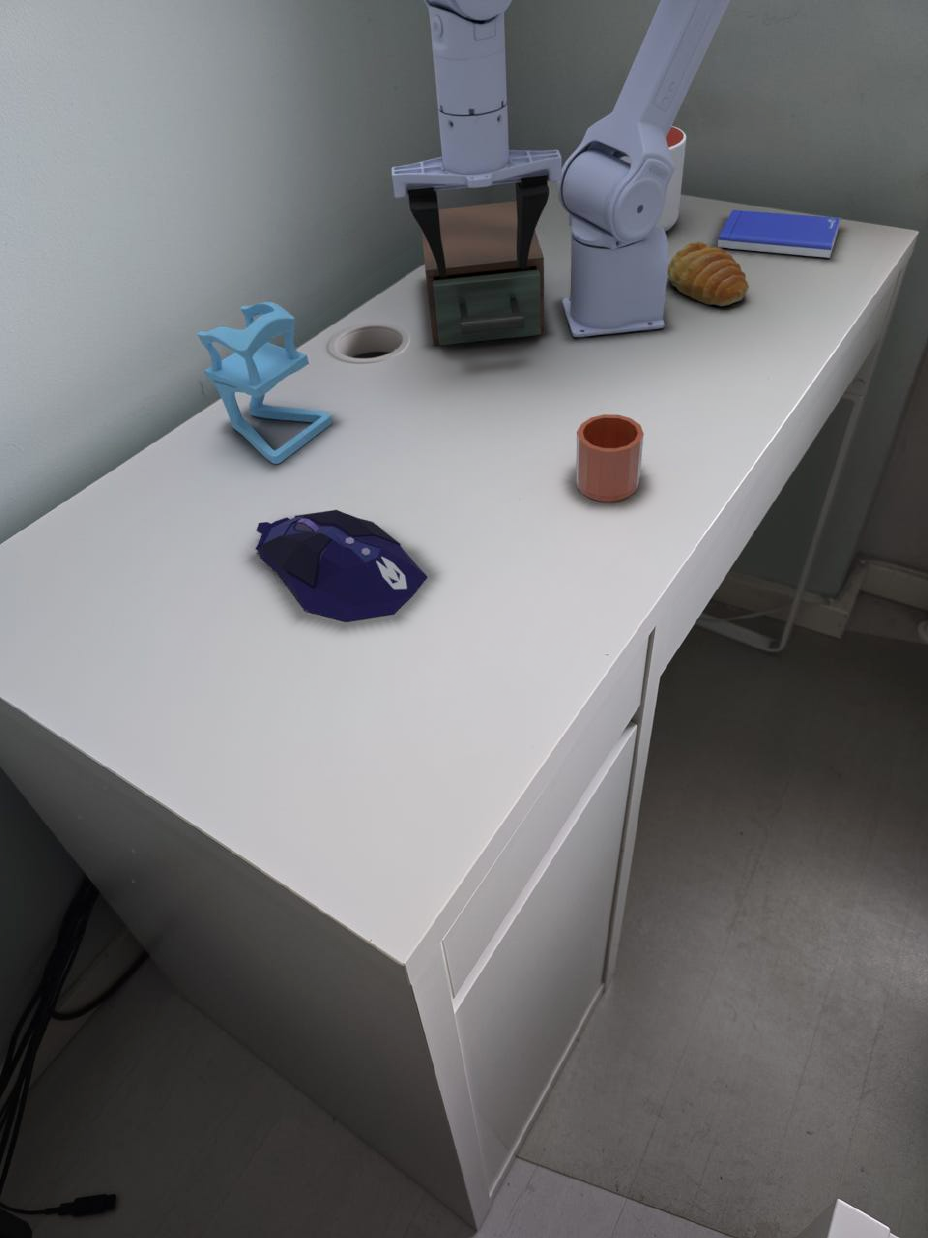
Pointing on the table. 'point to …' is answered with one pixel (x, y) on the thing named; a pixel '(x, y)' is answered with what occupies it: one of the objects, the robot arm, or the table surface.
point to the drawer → (488, 305)
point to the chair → (260, 374)
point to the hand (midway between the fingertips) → (482, 267)
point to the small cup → (608, 457)
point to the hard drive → (780, 233)
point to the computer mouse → (339, 564)
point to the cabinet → (479, 247)
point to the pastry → (707, 274)
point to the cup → (672, 178)
